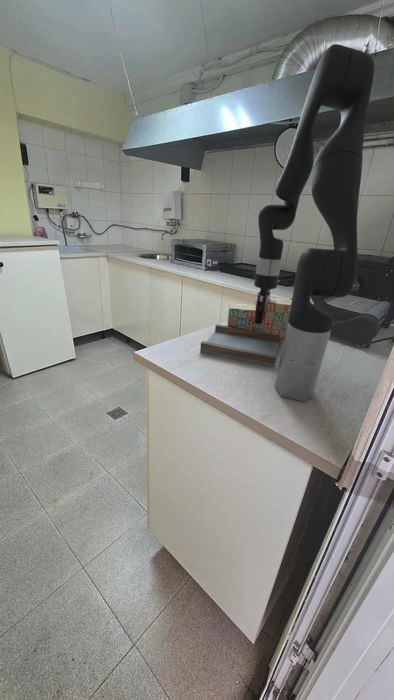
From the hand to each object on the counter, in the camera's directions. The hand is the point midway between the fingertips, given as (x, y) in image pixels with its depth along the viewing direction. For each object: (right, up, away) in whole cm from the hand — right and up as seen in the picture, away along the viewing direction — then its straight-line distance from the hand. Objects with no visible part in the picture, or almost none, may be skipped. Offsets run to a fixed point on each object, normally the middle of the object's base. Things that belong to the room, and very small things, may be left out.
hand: (260, 319), depth 100 cm
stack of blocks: (-1, -5, +2) cm, 5 cm away
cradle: (-8, -10, -9) cm, 16 cm away
